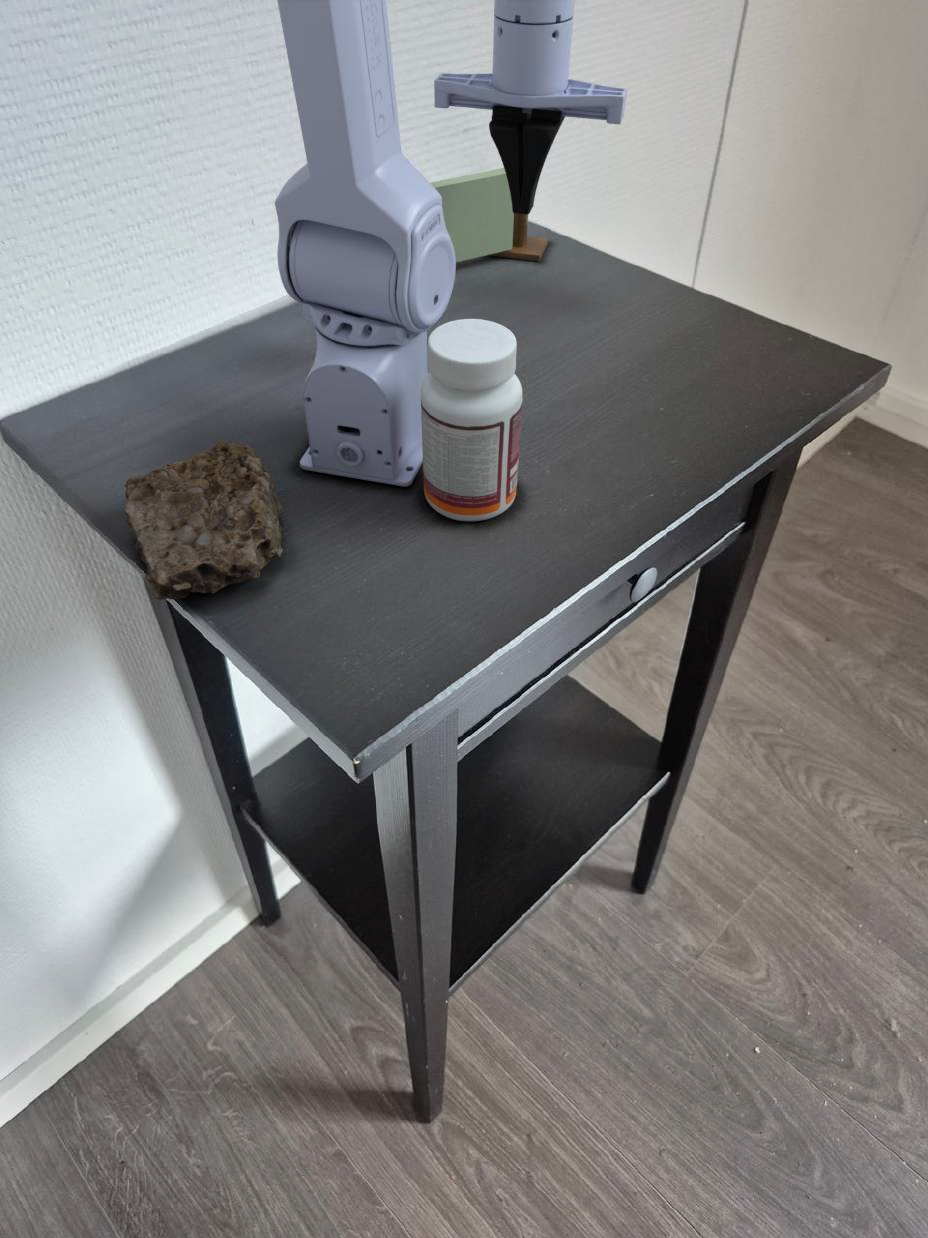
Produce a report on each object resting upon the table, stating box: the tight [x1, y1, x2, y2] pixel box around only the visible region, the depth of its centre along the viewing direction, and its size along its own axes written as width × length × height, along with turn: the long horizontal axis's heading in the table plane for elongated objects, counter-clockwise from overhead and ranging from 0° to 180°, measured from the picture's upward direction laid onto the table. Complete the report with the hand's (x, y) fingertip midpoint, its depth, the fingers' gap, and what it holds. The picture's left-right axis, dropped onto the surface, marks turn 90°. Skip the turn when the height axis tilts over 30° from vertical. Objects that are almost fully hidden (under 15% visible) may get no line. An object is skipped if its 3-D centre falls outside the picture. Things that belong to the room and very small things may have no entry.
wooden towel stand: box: [489, 213, 549, 262], centre depth 82 cm, size 4×5×10 cm
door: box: [429, 167, 514, 263], centre depth 79 cm, size 13×2×7 cm, turn 119°
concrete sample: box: [123, 440, 284, 601], centre depth 54 cm, size 12×10×5 cm
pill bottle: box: [421, 318, 524, 522], centre depth 55 cm, size 6×6×11 cm
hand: (523, 209), depth 74 cm, fingers closed
